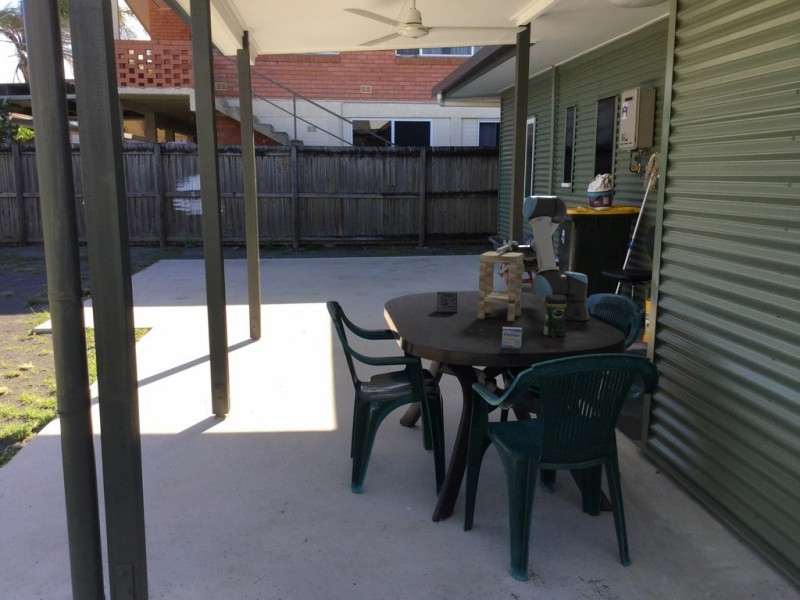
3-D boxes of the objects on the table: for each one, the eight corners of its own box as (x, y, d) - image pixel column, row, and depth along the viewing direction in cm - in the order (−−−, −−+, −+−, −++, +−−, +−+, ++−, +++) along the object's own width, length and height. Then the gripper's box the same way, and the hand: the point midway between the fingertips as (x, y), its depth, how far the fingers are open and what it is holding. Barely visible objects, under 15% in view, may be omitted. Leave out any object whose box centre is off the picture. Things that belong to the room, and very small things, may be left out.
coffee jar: (561, 333, 304) (563, 293, 301) (567, 337, 296) (570, 296, 293) (540, 333, 303) (543, 293, 300) (546, 337, 295) (548, 296, 292)
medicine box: (501, 349, 275) (502, 328, 273) (501, 346, 279) (502, 326, 278) (521, 350, 274) (522, 329, 272) (520, 347, 278) (521, 327, 276)
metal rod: (507, 248, 348) (508, 244, 348) (511, 248, 348) (511, 244, 347) (496, 253, 325) (496, 249, 324) (500, 253, 324) (500, 249, 323)
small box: (457, 311, 351) (457, 291, 349) (457, 313, 345) (457, 293, 343) (437, 310, 352) (437, 290, 350) (436, 312, 346) (437, 292, 344)
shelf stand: (486, 312, 349) (488, 251, 343) (520, 315, 343) (523, 253, 337) (477, 318, 332) (480, 255, 327) (513, 321, 326) (516, 257, 320)
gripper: (526, 268, 357) (520, 249, 336) (499, 266, 363) (491, 248, 342) (528, 255, 359) (522, 236, 339) (501, 253, 365) (493, 235, 344)
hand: (506, 242), depth 340 cm, fingers closed on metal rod, 2 cm apart
